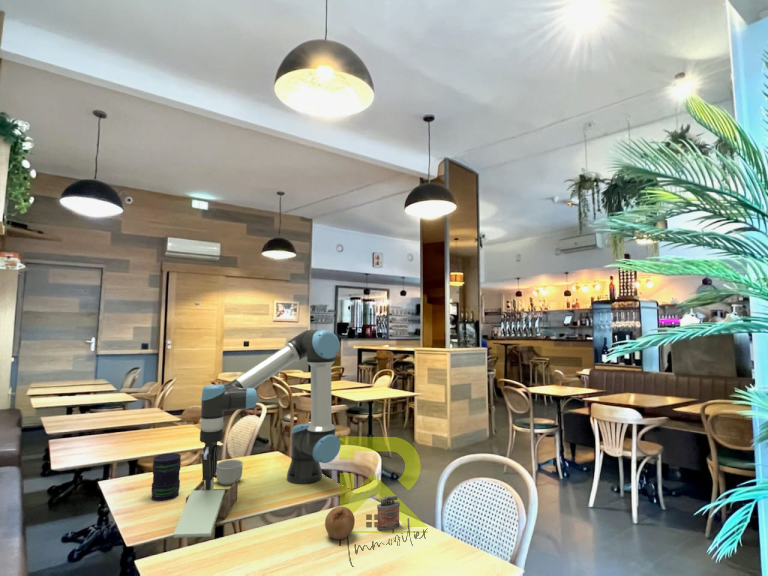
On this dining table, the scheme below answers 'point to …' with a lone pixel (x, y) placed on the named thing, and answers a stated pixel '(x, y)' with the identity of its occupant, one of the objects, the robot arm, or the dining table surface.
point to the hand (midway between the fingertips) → (208, 498)
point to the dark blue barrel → (166, 477)
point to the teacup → (229, 471)
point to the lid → (199, 514)
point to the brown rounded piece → (339, 522)
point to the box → (228, 498)
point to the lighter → (388, 513)
